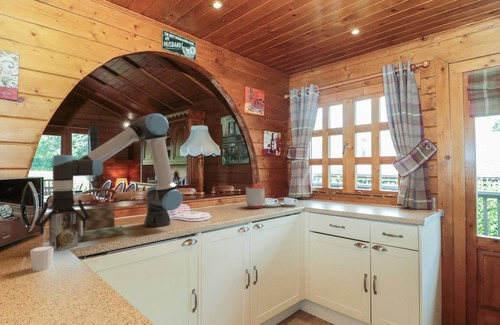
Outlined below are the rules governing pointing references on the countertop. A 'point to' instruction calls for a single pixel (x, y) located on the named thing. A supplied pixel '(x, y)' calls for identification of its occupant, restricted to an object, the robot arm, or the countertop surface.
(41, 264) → the white cylinder
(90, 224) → the wall rack
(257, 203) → the citrus juicer
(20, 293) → the countertop surface
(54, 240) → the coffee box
